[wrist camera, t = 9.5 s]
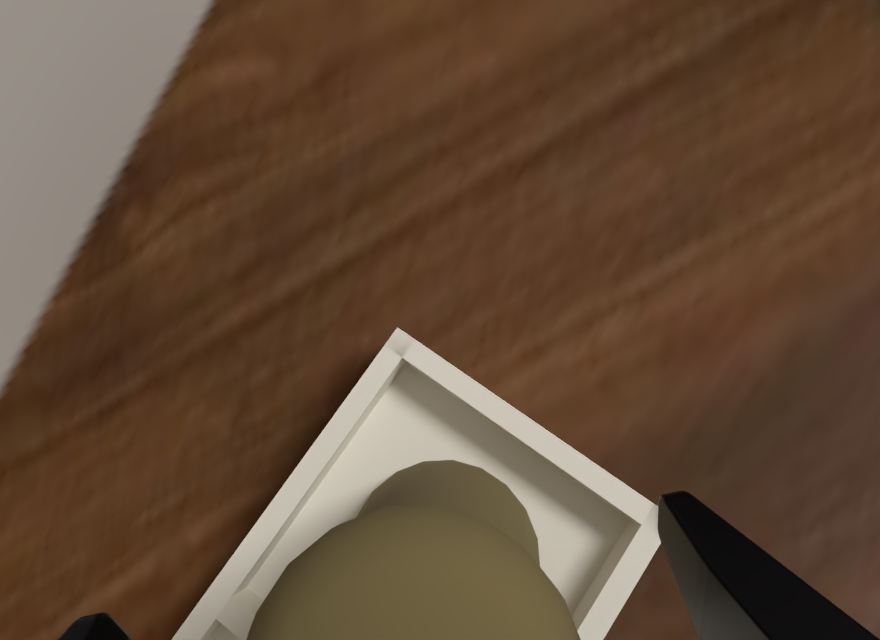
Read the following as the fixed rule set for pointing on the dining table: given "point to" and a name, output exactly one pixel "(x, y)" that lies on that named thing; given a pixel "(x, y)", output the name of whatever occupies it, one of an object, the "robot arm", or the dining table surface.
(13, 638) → the dining table surface
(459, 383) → the tray
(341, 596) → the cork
